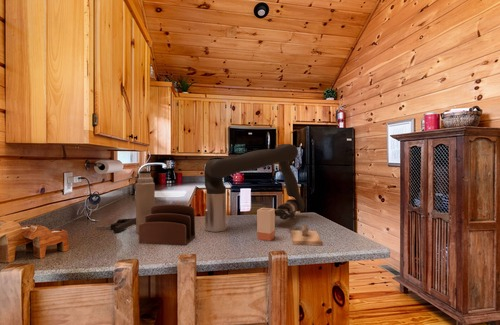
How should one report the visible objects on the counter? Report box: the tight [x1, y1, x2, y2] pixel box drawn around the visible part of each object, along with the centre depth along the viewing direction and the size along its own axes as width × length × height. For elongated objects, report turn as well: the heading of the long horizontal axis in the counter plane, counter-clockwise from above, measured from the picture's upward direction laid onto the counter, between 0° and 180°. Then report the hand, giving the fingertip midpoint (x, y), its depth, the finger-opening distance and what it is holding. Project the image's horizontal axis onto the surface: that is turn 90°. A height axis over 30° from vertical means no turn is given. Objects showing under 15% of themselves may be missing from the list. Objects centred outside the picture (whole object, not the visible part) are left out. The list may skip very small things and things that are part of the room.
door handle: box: [94, 217, 136, 234], centre depth 120 cm, size 3×20×16 cm
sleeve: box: [256, 207, 276, 242], centre depth 101 cm, size 6×6×12 cm
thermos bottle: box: [135, 170, 156, 235], centre depth 112 cm, size 8×8×28 cm
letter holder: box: [138, 204, 196, 246], centre depth 100 cm, size 10×20×14 cm, turn 82°
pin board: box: [290, 224, 323, 246], centre depth 99 cm, size 11×14×6 cm
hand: (275, 216), depth 111 cm, fingers open, 8 cm apart
